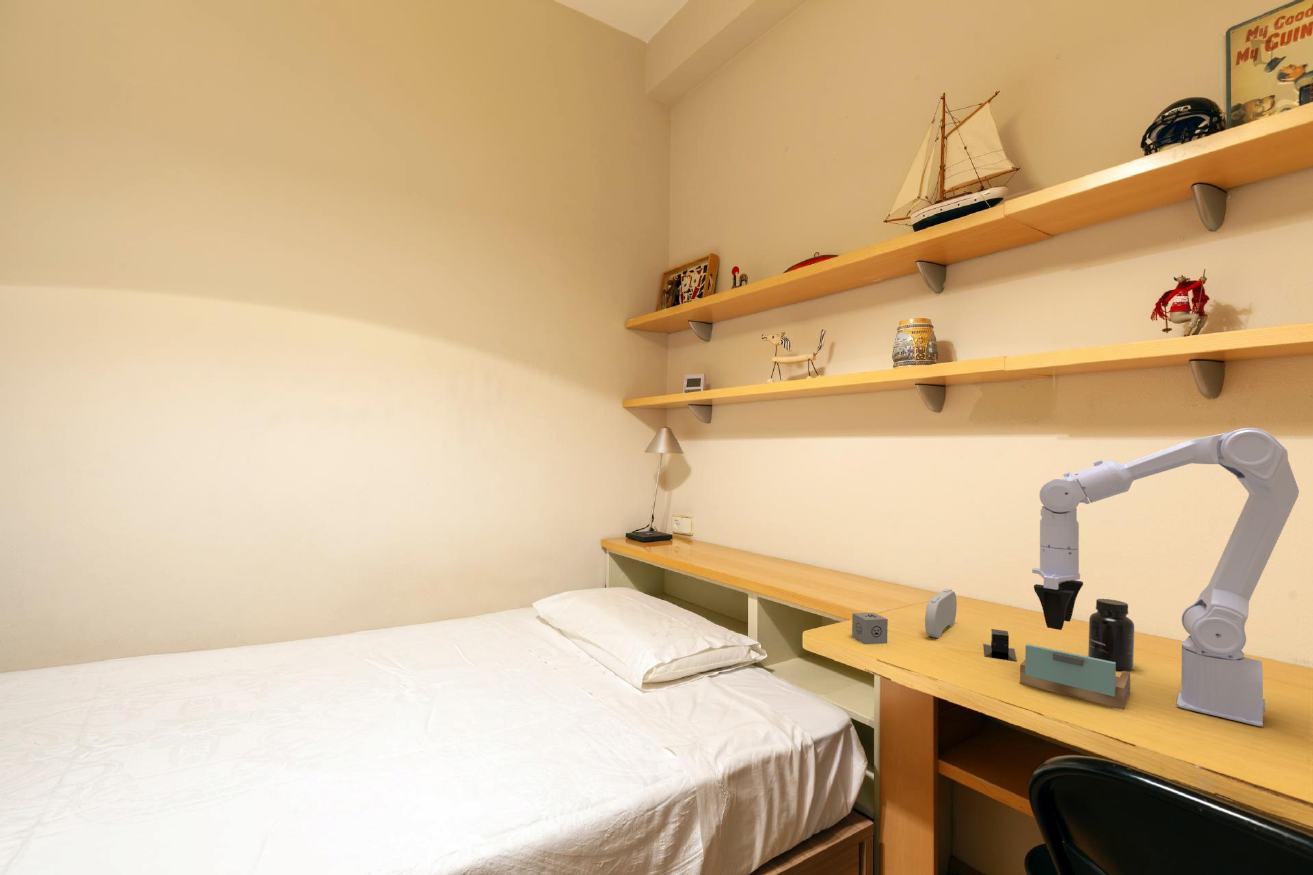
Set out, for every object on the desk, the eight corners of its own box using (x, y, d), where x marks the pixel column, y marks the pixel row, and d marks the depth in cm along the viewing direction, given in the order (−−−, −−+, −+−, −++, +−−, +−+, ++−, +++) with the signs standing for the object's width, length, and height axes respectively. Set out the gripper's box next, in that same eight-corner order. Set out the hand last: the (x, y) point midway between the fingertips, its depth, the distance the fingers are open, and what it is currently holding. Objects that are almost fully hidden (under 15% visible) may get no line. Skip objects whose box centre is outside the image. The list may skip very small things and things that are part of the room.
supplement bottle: (1085, 664, 113) (1086, 600, 113) (1090, 656, 118) (1091, 595, 118) (1132, 674, 108) (1132, 608, 108) (1135, 665, 113) (1136, 601, 113)
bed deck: (1130, 691, 100) (1130, 672, 100) (1123, 709, 93) (1123, 688, 93) (1032, 668, 109) (1033, 651, 109) (1019, 683, 102) (1020, 664, 102)
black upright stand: (1022, 668, 111) (1023, 643, 111) (978, 660, 115) (978, 636, 115) (1018, 649, 122) (1018, 627, 122) (977, 643, 126) (978, 621, 126)
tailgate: (1115, 694, 93) (1115, 662, 93) (1114, 697, 92) (1114, 664, 92) (1026, 673, 101) (1026, 643, 101) (1024, 675, 100) (1024, 645, 100)
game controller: (945, 621, 141) (946, 585, 141) (956, 623, 139) (957, 587, 140) (923, 639, 126) (923, 600, 126) (934, 642, 124) (935, 602, 124)
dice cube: (887, 643, 122) (887, 618, 122) (865, 644, 121) (865, 619, 121) (873, 636, 127) (873, 612, 127) (851, 637, 126) (852, 613, 126)
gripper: (1041, 540, 114) (1041, 612, 113) (1023, 548, 103) (1022, 627, 103) (1086, 545, 109) (1086, 620, 109) (1072, 553, 98) (1072, 636, 98)
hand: (1058, 624), depth 105 cm, fingers open, 7 cm apart
